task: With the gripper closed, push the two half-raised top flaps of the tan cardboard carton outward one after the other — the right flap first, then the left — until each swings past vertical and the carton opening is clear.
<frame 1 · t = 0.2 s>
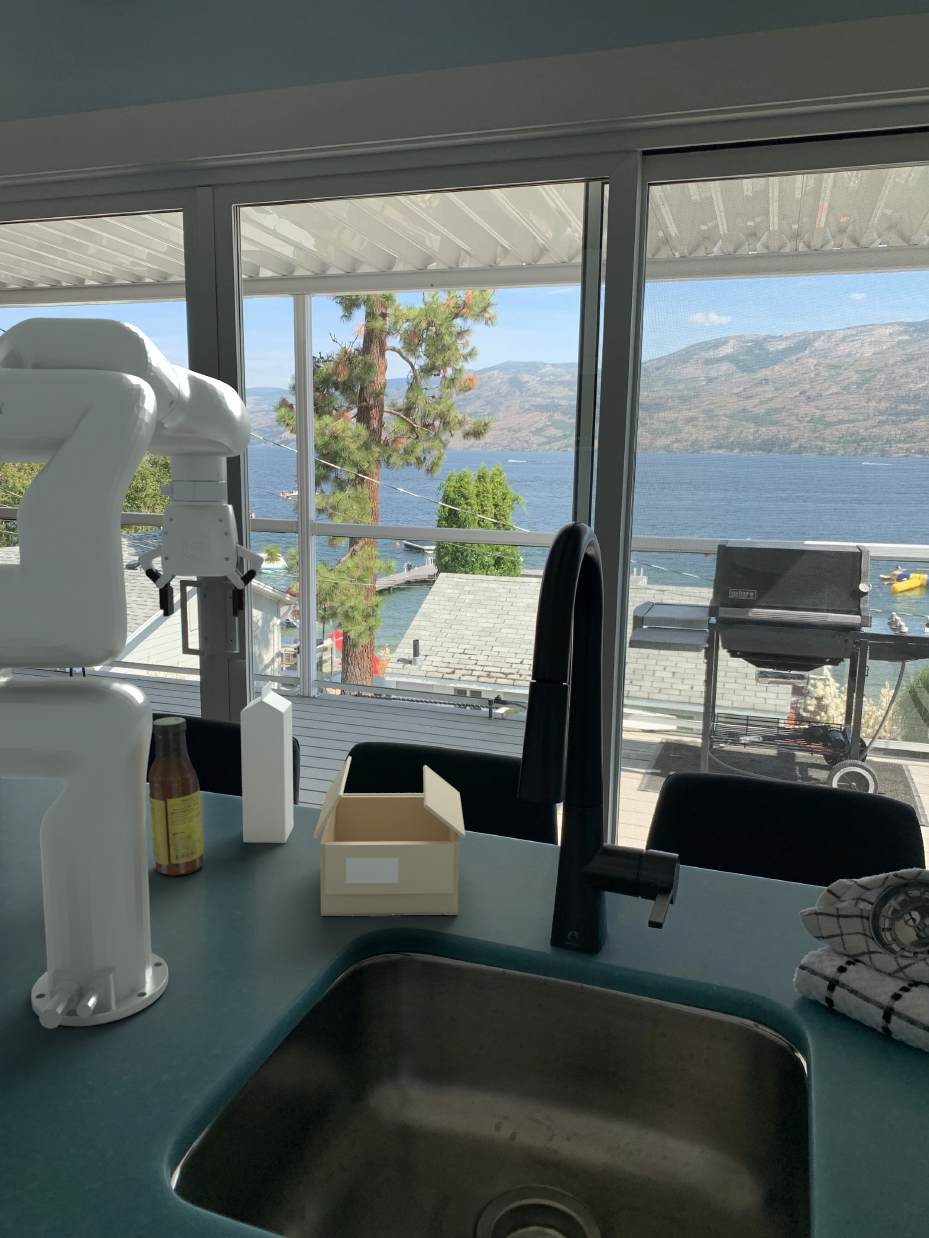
hand: (203, 615, 129), 31 cm above the countertop, tool pointing down, fingers open, 9 cm apart
left flap: (333, 794, 112), point 12 cm above the countertop, hinge at 60.0°
milk: (269, 836, 130), on the countertop
carton: (391, 886, 114), on the countertop
right flap: (442, 799, 113), point 11 cm above the countertop, hinge at 40.0°
sauce bottle: (178, 869, 118), on the countertop
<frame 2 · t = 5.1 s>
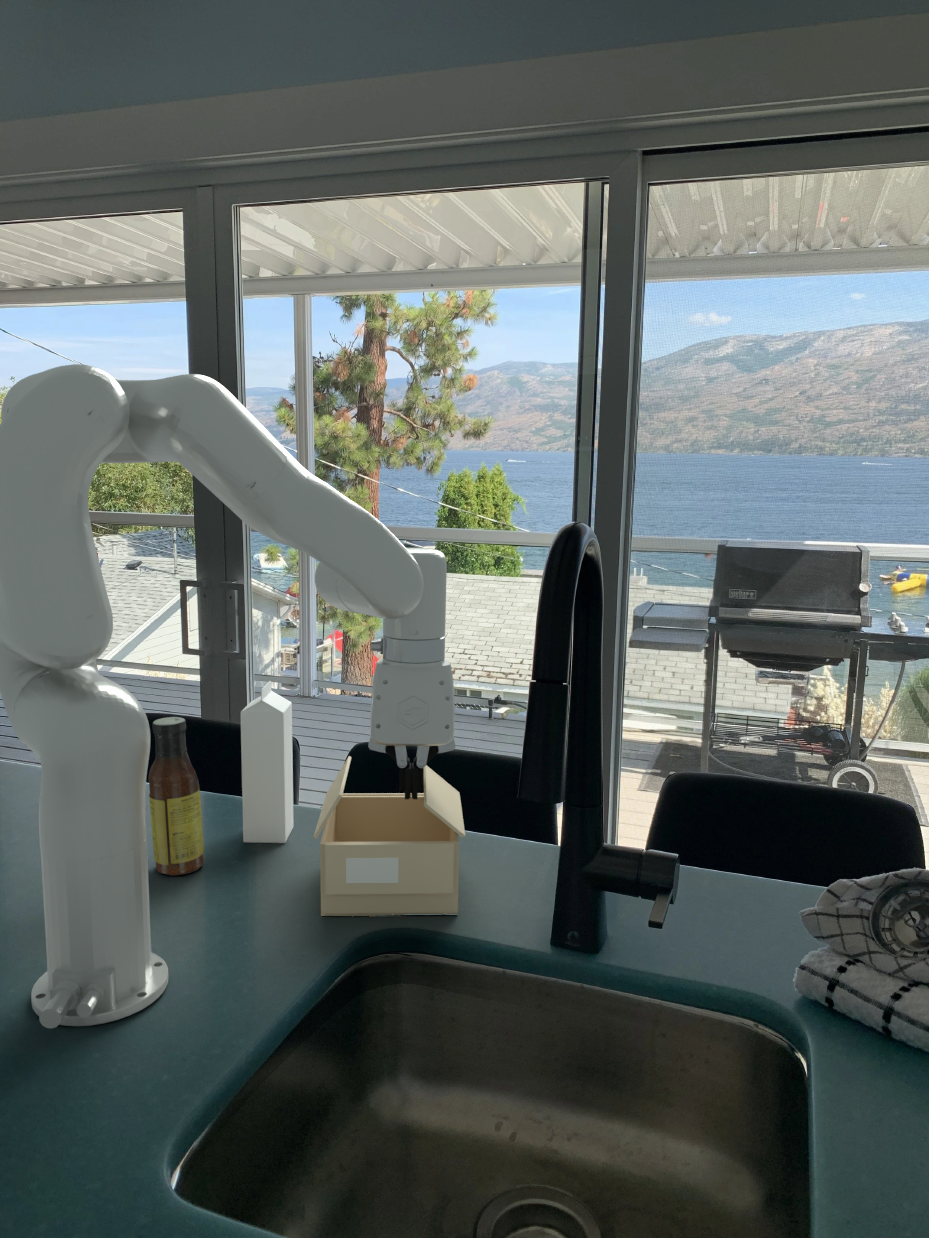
hand: (411, 795, 112), 12 cm above the countertop, tool pointing down, fingers closed
right flap: (443, 799, 113), point 11 cm above the countertop, hinge at 40.6°, touching gripper
everything else where it was.
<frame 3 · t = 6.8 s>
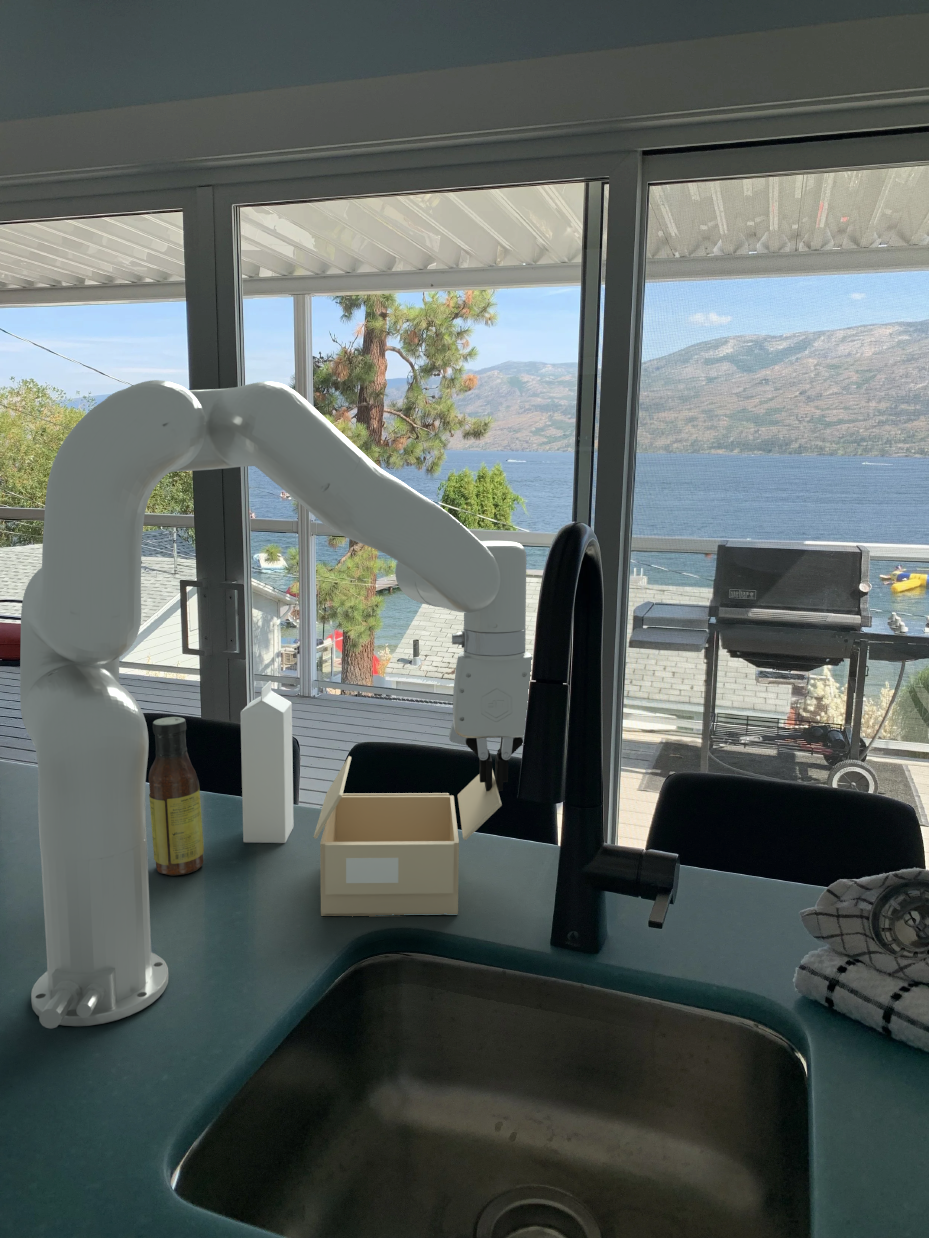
hand: (493, 786, 113), 13 cm above the countertop, tool pointing down, fingers closed
right flap: (478, 799, 113), point 11 cm above the countertop, hinge at 134.2°, touching gripper
everything else where it was.
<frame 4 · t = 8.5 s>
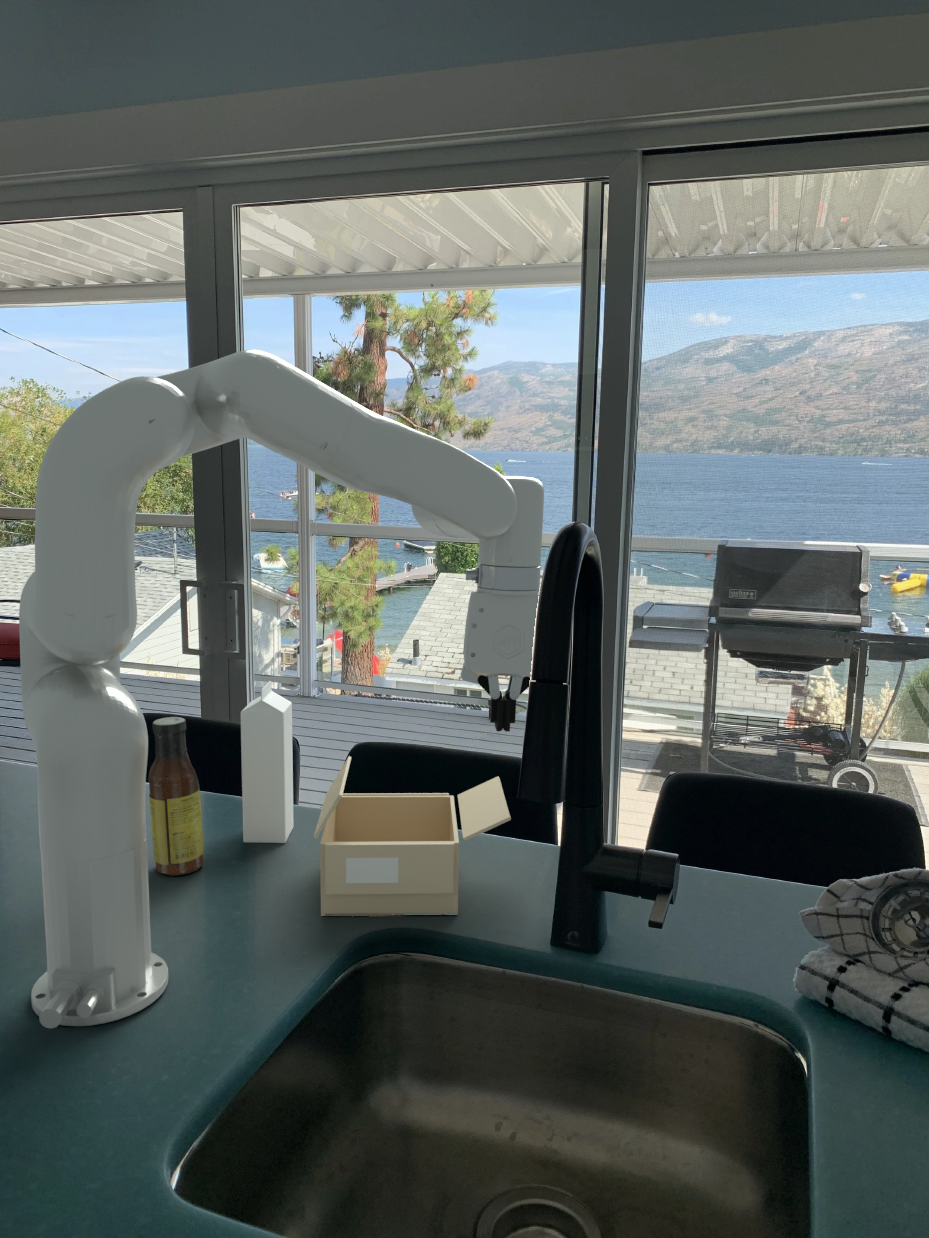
hand: (502, 728, 111), 21 cm above the countertop, tool pointing down, fingers closed
right flap: (482, 806, 113), point 10 cm above the countertop, hinge at 154.3°
everything else where it was.
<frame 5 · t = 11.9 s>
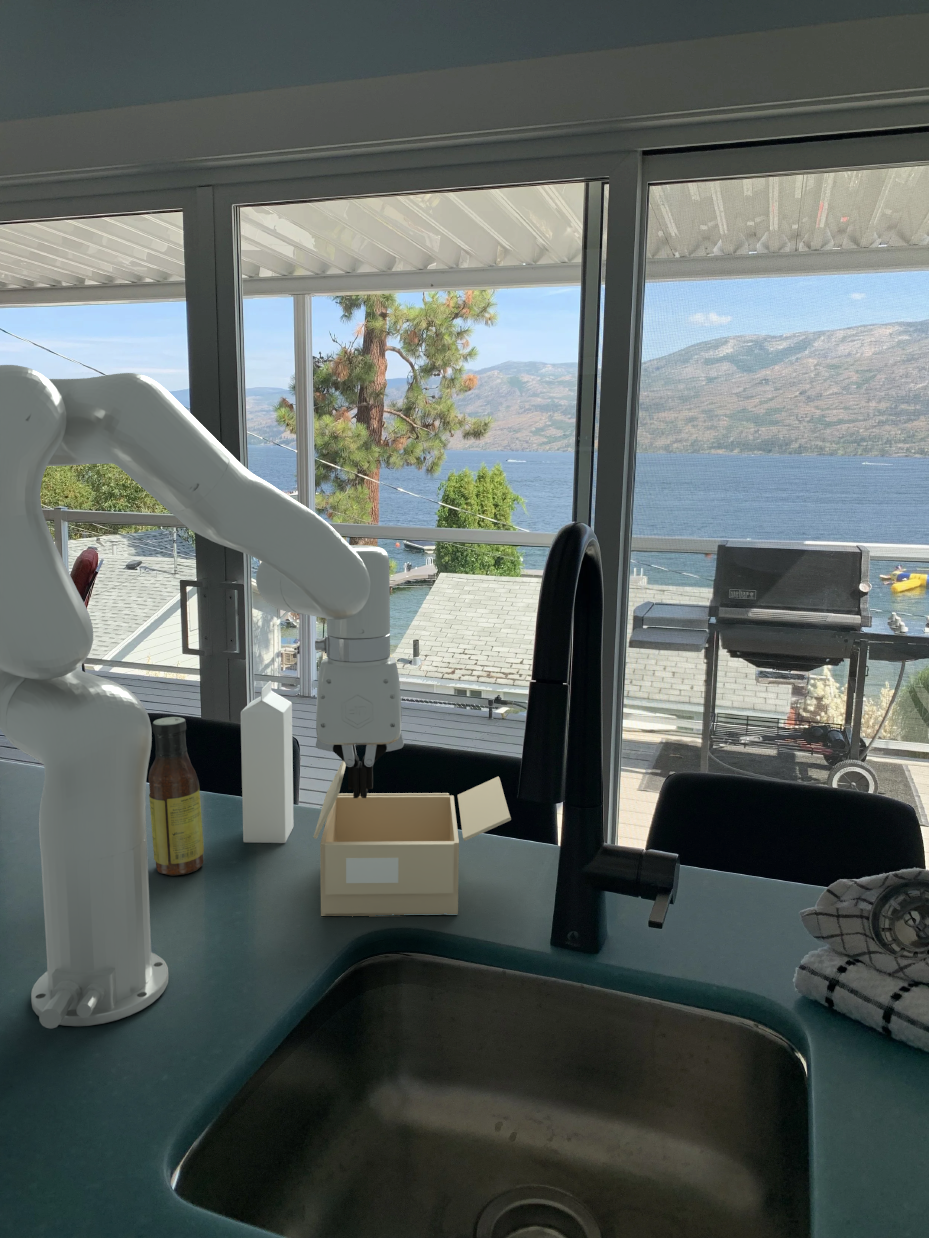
hand: (360, 794, 112), 12 cm above the countertop, tool pointing down, fingers closed
left flap: (331, 794, 112), point 12 cm above the countertop, hinge at 64.4°, touching gripper
everything else where it was.
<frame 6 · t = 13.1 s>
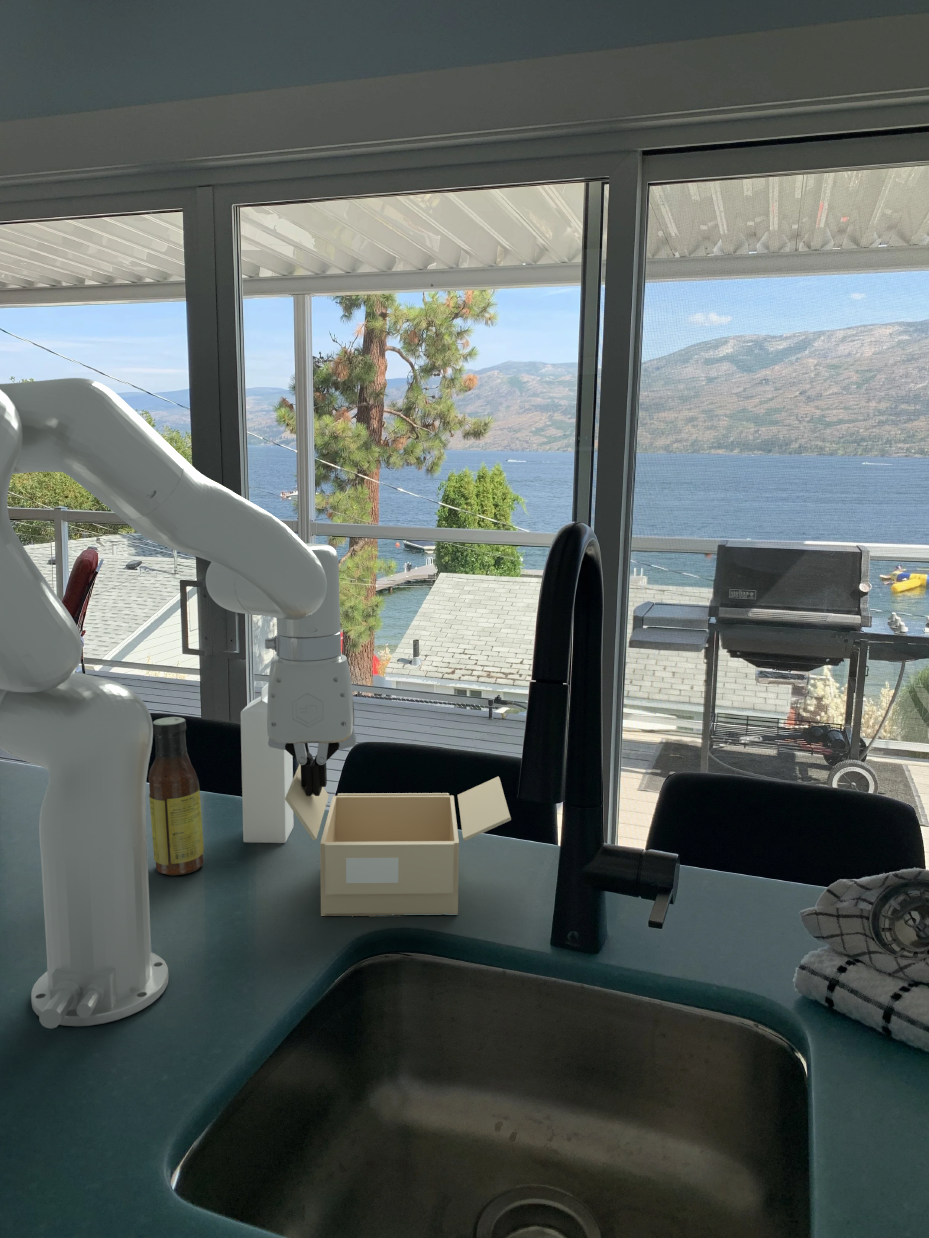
hand: (314, 791, 112), 12 cm above the countertop, tool pointing down, fingers closed
left flap: (308, 796, 112), point 12 cm above the countertop, hinge at 122.5°, touching gripper
everything else where it was.
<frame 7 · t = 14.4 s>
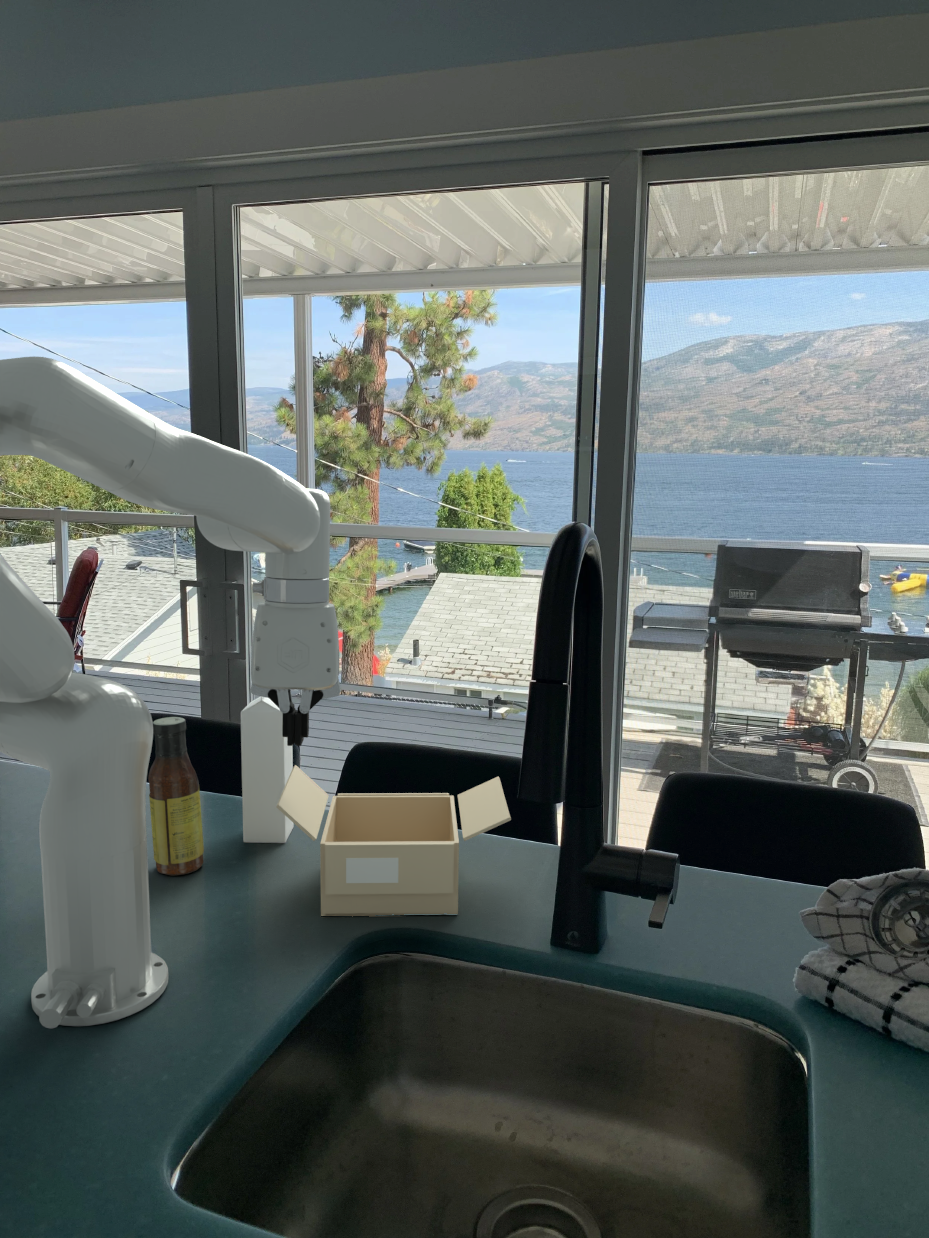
hand: (295, 742, 110), 19 cm above the countertop, tool pointing down, fingers closed
left flap: (304, 800, 112), point 11 cm above the countertop, hinge at 135.7°
everything else where it was.
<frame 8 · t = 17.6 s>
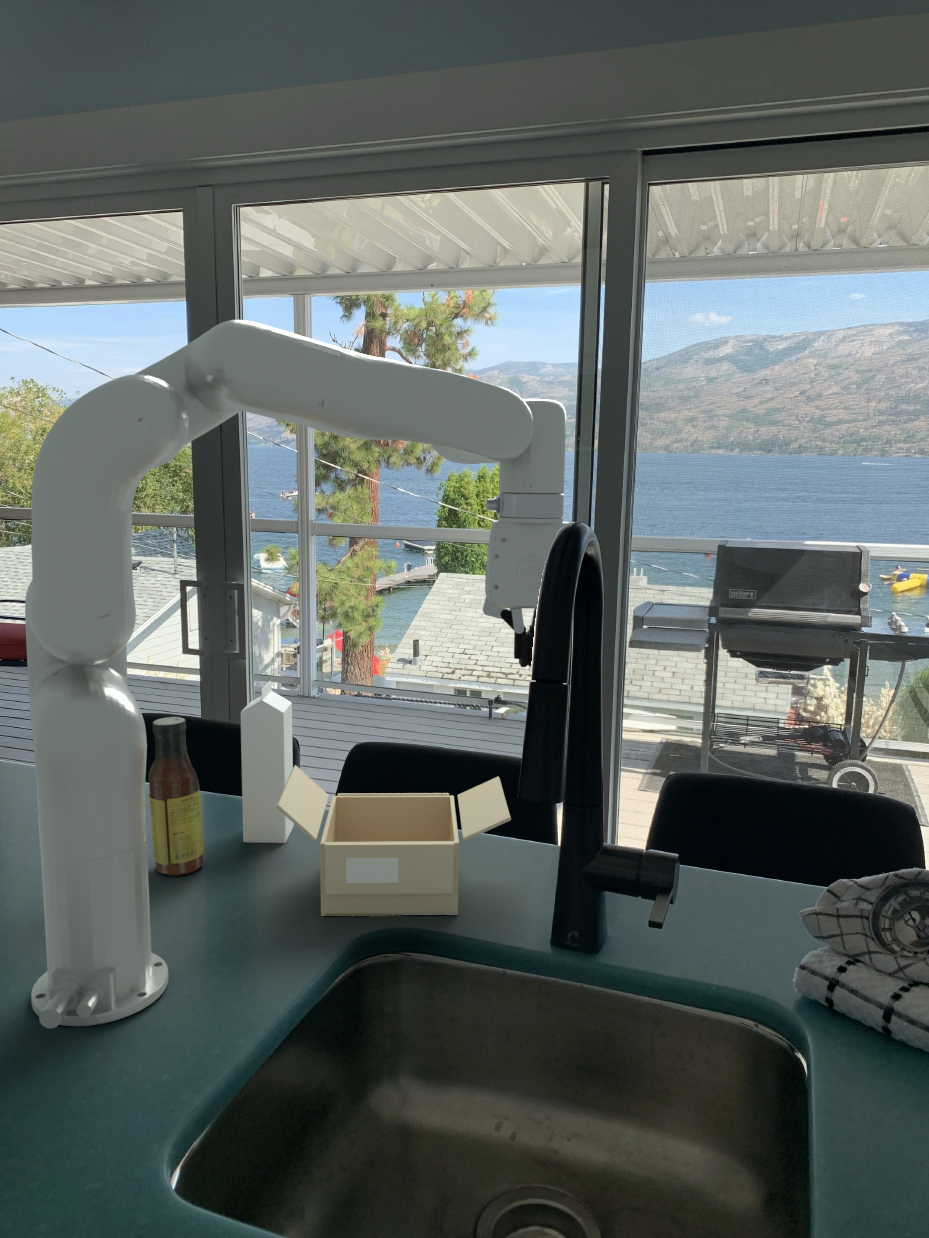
hand: (526, 664, 108), 29 cm above the countertop, tool pointing down, fingers closed
nothing on the countertop moved.
at the end: right flap at +155° (first picture: +40°); left flap at +136° (first picture: +60°) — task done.
